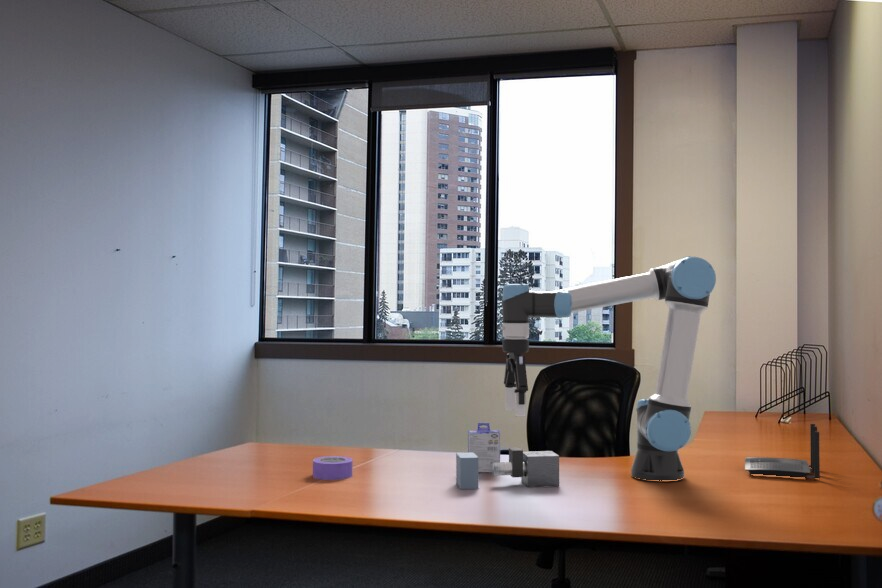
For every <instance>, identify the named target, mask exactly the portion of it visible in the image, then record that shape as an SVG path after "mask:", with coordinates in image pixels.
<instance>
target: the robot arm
mask: <svg viewBox="0 0 882 588" xmlns="http://www.w3.org/2000/svg"><path fill="white" fill-rule="evenodd" d="M716 283H717V275H716V271H715V269H714V267H713V266H712V264H711V263H710V262H709V261H708V260H706V259H704V258H702V257H699V256H691V255H690V256H684V257H682V258H678V259H676V260H674V261H672V262H670V263H667V264H663V265H661V266H658V267H653V268H650V269H649V270H648V271H647V272H645V273H640V274H634V275H630V276H623V277H619V278H618V277H617V278H614V279H613V278H612V279H607V280H604V281H598V282H592V283H587V284H583V285H578V286H572V287H567V288H562V289H558V290H545V291H544V290H543V291H542V290H538V291H535V290H531V289H530V285H529V284H527V283H507V284H505V285H504V286H503V288H502V300H501V302H502V307H501V309H502V326H501V327H500V330H501V331H502V337H503V339H502V341H501V343H502V345H501V347H502V352H503V353H506V355H505V357H506V358H505V359H506V360H505V369H504V377H503V378H504V380H503V384H504V386H505V411H515V417H527V392H528V391H529V386H528V377H527V368H526V367H527V365H526V359H527V358H526V356H523V354H522V353H528V352H529V351H530V340H529V339H528V338H529V337H530V320H529V319H530V318H548V319H549V318H551V319H552V318H557V319H562V318H563V319H564V318H569V317H571V316H572V313H578V312H583V311H584V312H585V311H589V310H593V309H595V310H596V309H601V308H605V307H611V306H615V305H620V304H626V303H632V302H637V301H642V300H647V299H654V300H656V301H662V300H664V303H665V304H666V306H667V307H668V315H667V321H666V325H665V326H666V327H665V333H664V338H663V342H662V343H663V345H662V349H661V357H660V362H659V369H658V373H657V374H658V375H657V380H656V387H655V392H654V393H653V394H652V395H650V396H649V397H648V398H642V399H641V398H640V399H639V400H638V401H637V402H636V403H637V404H636V409H635V411H636V453H635V456H634V459H633V462H632V465H631V469H630V476H631V475H632V476H633V477H636V478H640V479H646V480H659V481H660V480H661V481H662V480H677V479H681V478H683V477H684V478H685V469H684V466H683V464H682V461H681V458H680V454H679V450H680V449H682V448H683V447H685V446H686V445H687V443H688V442H689V440H690V437H691V434H692V427H691V423H690V418H691V410H692V404H691V402H690V401H689V399H688V393H689V387H690V381H691V375H692V370H693V362H694V356H695V352H696V351H695V350H696V345H697V340H698V339H697V338H698V333H699V326H700V320H701V314H702V313H704V311H706V310H707V309H708V308H709V307H708V306H709V301H710V295H711V294H712V292H713V291H714V289H715V285H716ZM632 476H631V477H632ZM633 477H632V478H633ZM636 478H635V479H636Z"/></svg>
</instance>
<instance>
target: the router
mask: <svg viewBox="0 0 882 588" xmlns="http://www.w3.org/2000/svg"><path fill="white" fill-rule="evenodd" d="M809 428H810V429H809V430H810V431H809V433H810V464H809V463H808V460H806V459H805V460H804V459H798V458H797V459H796V458H783V457H768V456H767V457H764V456H763V457H759V456H758V457H757V456H756V457H749V456H747V457H744V458H745V459H744V470H745V471H748V472H749V474H750V475H751V474H763V475H776V476H790V477H805V478H806V477H808V478H806V479H813V478H820V477H821V476H820V473H821V471H820V466H821V465H820V431H818V426H817V425H816V424H815V423H810V426H809ZM809 467H811V468H812V469H811V468H809ZM811 473H812V474H813V475H810V474H811ZM820 479H821V478H820Z"/></svg>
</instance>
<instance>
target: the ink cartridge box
mask: <svg viewBox="0 0 882 588" xmlns="http://www.w3.org/2000/svg"><path fill="white" fill-rule="evenodd" d="M481 426H486V427H481ZM472 452H474V453H475V455H476V456H477V457H478V473H493V472H492V464H493V463H497V462H501V433H500V430H497V429H496V430H491V428H490V423H489V422H479V423H477V430H469V431H468V430H467V453H472Z"/></svg>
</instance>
